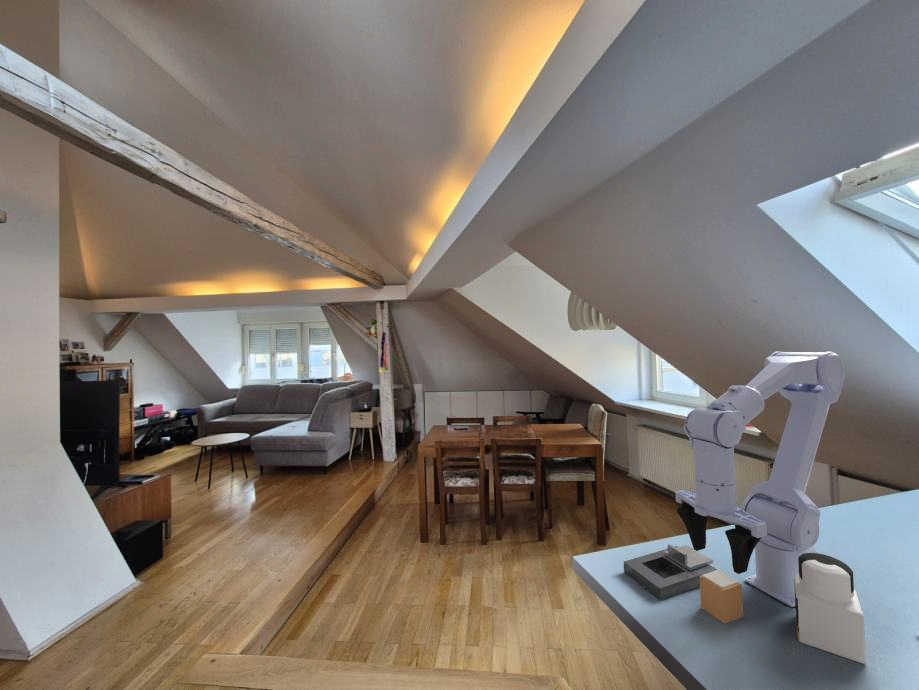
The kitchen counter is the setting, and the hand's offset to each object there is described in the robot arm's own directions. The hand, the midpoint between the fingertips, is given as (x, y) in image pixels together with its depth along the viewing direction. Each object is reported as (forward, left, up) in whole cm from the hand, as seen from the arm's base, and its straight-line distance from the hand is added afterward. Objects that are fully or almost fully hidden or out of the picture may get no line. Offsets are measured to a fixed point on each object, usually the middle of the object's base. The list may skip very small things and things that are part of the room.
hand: (718, 559), depth 65 cm
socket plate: (0, -11, -9) cm, 14 cm away
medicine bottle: (-9, +10, -9) cm, 16 cm away
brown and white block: (0, 0, -9) cm, 9 cm away
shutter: (-5, -11, -7) cm, 13 cm away
